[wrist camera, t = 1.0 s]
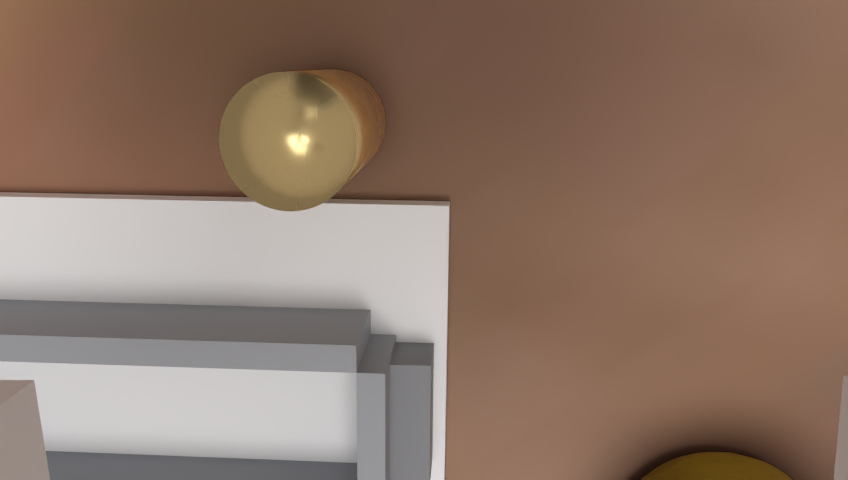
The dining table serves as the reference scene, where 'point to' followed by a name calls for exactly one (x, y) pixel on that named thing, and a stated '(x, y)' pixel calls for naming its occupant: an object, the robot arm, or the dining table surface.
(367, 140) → the pin
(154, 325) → the white grey flat tray
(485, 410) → the dining table surface
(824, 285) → the dining table surface
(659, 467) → the mug
